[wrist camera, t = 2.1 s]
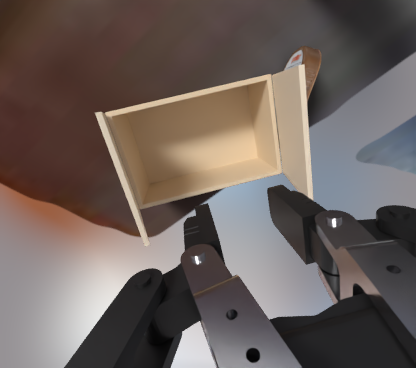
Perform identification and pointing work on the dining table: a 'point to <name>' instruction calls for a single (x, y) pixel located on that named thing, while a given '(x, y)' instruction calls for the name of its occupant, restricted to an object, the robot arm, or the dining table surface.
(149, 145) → the carton
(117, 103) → the dining table surface
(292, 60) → the tin
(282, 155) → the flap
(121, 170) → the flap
